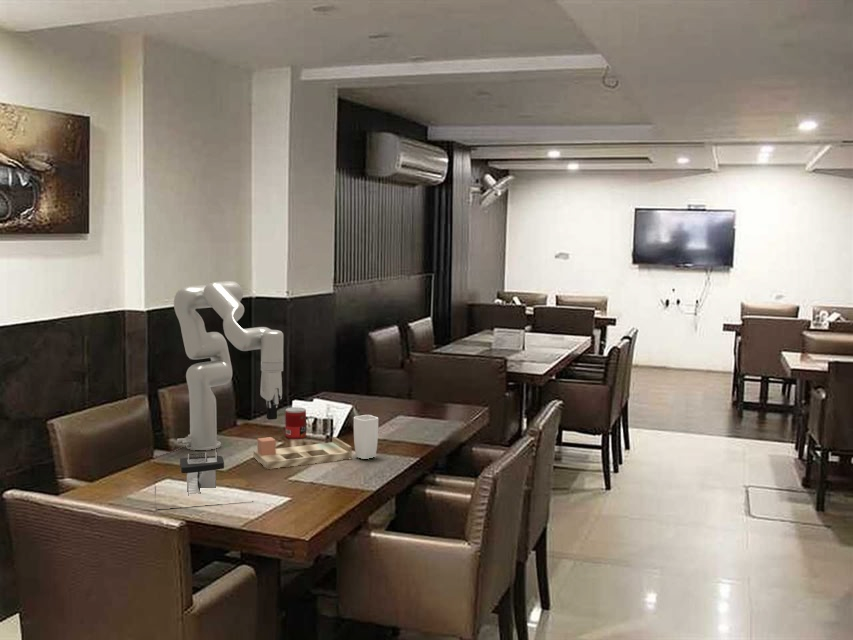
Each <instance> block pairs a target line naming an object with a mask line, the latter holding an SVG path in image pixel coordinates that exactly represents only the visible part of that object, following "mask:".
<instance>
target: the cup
mask: <svg viewBox="0 0 853 640" xmlns="http://www.w3.org/2000/svg"><path fill="white" fill-rule="evenodd" d="M378 442H379V417H378V416H374V415H372V414H363V415H357V416H353V444H354V451H355V457H356V458H357V457H358V458H357V459H359V458H361V459H360V460H362V459H368V460H370V459H369V458H373V457H375V458H377V457H376V456H377V449H378ZM373 459H374V458H373Z"/></svg>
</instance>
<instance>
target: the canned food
mask: <svg viewBox="0 0 853 640" xmlns="http://www.w3.org/2000/svg"><path fill="white" fill-rule="evenodd" d="M284 421H285V437H286V438H287V439H290V440H301V439H304V438H306V436H307V409H306V408H304V407H300V406H299V407H298V406H297V407H294V406H293V407H292V406H291V407H288V408H286V409H285V419H284Z"/></svg>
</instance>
